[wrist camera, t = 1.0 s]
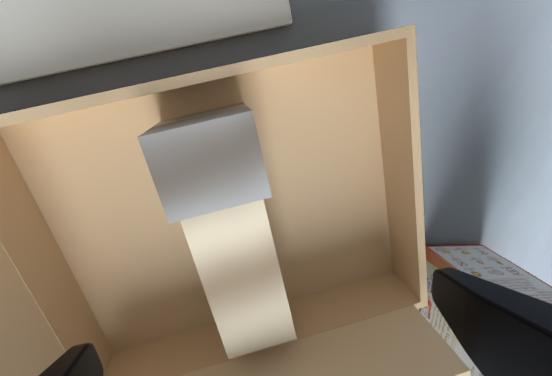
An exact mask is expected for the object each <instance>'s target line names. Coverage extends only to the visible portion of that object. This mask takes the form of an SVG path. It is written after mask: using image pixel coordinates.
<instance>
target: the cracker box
mask: <svg viewBox="0 0 552 376" xmlns="http://www.w3.org/2000/svg"><path fill="white" fill-rule="evenodd" d="M425 249H426V271H427V293H428V306H426V307H423V308H419V309H418V310H419V311H420V313H421V314H422V315H423V316H424V317H425V318H426V320H427V321H428V322H429V323H430V324H431V325H432V326H433V328H434V329H435V330H436V331H437V332H438V333H439V334H440V336H441V337H442V338H443V339H444V340H445V341H446V343H447V344H448V345H449V346H450V347H451V348H452V349H453V351H454V352H455V353H456V354H457V355H458V356H459V358H460V359H461V360H462V361H463V362H464V363H465V364H466V366H467V367H468V368H469V369H470V370H471V376H483V375H482V373H481V372H480V371H479V370H478V368H477V367H476V366H475V364H474V363H473V362H472V360H471V359H470V358H469V356H468V355H467V353H466V352H465V350H464V349H463V347H462V346H461V344H460V343H459V341H458V340H457V338H456V336H455V335H454V333H453V332H452V330H451V329H450V327H449V325H448V324H447V322H446V321H445V319H444V317H443V316H442V314H441V313H440V311H439V309H438V308H437V306H436V305H435V303H434V301H433V298H432V280H433V272H434V270H436V269H440V268H444V267H451V268H454V269H457V270H460V271H462V272H465V273H468V274H471V275H474V276H476V277H479V278H482V279H485V280H487V281H490V282H493V283H496V284H498V285H501V286H504V287H507V288H509V289H512V290H515V291H518V292H520V293H523V294H526V295H529V296H531V297H534V298H537V299H540V300H543V301H545V302H548V303H551V304H552V286H550V285H548V284H547V283H545V282H543V281H542V280H540V279H538V278H537V277H535V276H534V275H532V274H530V273H529V272H527V271H525V270H524V269H522V268H521V267H519V266H517V265H515V264H514V263H512V262H511V261H509V260H507V259H505V258H504V257H502V256H500V255H498V254H497V253H495V252H493V251H492V250H490V249H488V248H487V247H485V246H484V245H445V246H425Z"/></svg>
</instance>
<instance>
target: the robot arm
mask: <svg viewBox="0 0 552 376" xmlns="http://www.w3.org/2000/svg"><path fill="white" fill-rule="evenodd" d="M432 298H433V301H434V303H435V305H436V306H437V308H438V309H439V311H440V313H441V314H442V316H443V317H444V319H445V321H446V322H447V324H448V325H449V327H450V329H451V330H452V332H453V333H454V335H455V336H456V338H457V340H458V341H459V343H460V344H461V346H462V347H463V349H464V350H465V352H466V353H467V355H468V356H469V358H470V359H471V360H472V362H473V363H474V364H475V366H476V367H477V368H478V370H479V371H480V372H481V373H482V375H483V376H552V304H551V303H548V302H545V301H543V300H540V299H537V298H534V297H531V296H529V295H526V294H523V293H520V292H518V291H515V290H512V289H509V288H507V287H504V286H501V285H498V284H496V283H493V282H490V281H487V280H485V279H482V278H479V277H476V276H474V275H471V274H468V273H465V272H462V271H460V270H457V269H454V268H451V267H444V268H440V269H436V270H434V272H433V280H432ZM103 375H104V369H103V365H102V363H101V360H100V358H99V356H98V353H97V351H96V349H95V346H94V345H93V344H92V343H89V342H88V343H83V344H78V345H74V346H72V347H71V348H69V349H68V350H67V351H66V352H65V353H64V354H63V355H61V356H60V357H59V358H58V359H57V360H56V361H55V362H53V363H52V364H51V365H50V366H49V367H48V368H47V369H45V370H44V371H43V372H42V373H41V374H40V375H39V376H103Z"/></svg>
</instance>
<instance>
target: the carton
mask: <svg viewBox="0 0 552 376" xmlns="http://www.w3.org/2000/svg"><path fill="white" fill-rule="evenodd" d="M243 102H244V103H245V104H246V105H247V106H248V107H249V108H250V109H251V110H252V111H253V115H254V120H255V124H256V128H257V133H258V137H259V142H260V146H261V150H262V155H263V159H264V163H265V168H266V172H267V177H268V181H269V185H270V190H271V194H272V197H271V198H267V199H263V200H264V204H265V208H266V212H267V216H268V220H269V225H270V229H271V233H272V237H273V241H274V245H275V250H276V254H277V258H278V262H279V266H280V270H281V275H282V279H283V283H284V287H285V291H286V295H287V300H288V304H289V308H290V312H291V316H292V320H293V325H294V329H295V333H296V337H297V339H295V340H291V341H288V342H285V343H281V344H278V345H275V346H272V347H268V348H265V349H262V350H258V351H255V352H252V353H248V354H245V355H242V356H238V357H235V358H232V359H228V356H227V354H226V351H225V348H224V345H223V342H222V339H221V336H220V334H219V331H218V328H217V325H216V322H215V319H214V317H213V314H212V311H211V308H210V305H209V302H208V299H207V297H206V294H205V291H204V288H203V285H202V282H201V280H200V277H199V274H198V271H197V268H196V265H195V262H194V260H193V257H192V254H191V251H190V248H189V245H188V243H187V240H186V237H185V234H184V231H183V228H182V225H181V223H180V221H178V222H174V223H170V224H169V223H168V220H167V217H166V214H165V212H164V209H163V206H162V204H161V201H160V198H159V195H158V193H157V190H156V187H155V184H154V182H153V179H152V176H151V174H150V171H149V168H148V165H147V163H146V160H145V157H144V154H143V152H142V149H141V146H140V144H139V141H138V138H137V137H138V136H140V135H141V134H143V133H144V132H146V131H147V130H149V129H150V128H152V127H153V126H154V125H156V124H157V123H159V122H160V121H164V120H169V119H173V118H177V117H182V116H186V115H190V114H195V113H199V112H204V111H208V110H212V109H217V108H221V107H225V106H230V105H234V104H238V103H243ZM426 306H428V293H427V271H426V249H425V227H424V204H423V182H422V160H421V138H420V116H419V93H418V71H417V49H416V27H415V24H413V25H408V26H404V27H399V28H395V29H390V30H385V31H381V32H376V33H372V34H367V35H362V36H358V37H353V38H349V39H344V40H339V41H335V42H330V43H326V44H321V45H316V46H312V47H307V48H303V49H298V50H293V51H289V52H284V53H280V54H275V55H270V56H266V57H261V58H257V59H252V60H247V61H243V62H238V63H234V64H229V65H224V66H220V67H215V68H211V69H206V70H201V71H197V72H192V73H188V74H183V75H178V76H174V77H169V78H165V79H160V80H155V81H151V82H146V83H142V84H137V85H132V86H128V87H123V88H119V89H114V90H109V91H105V92H100V93H96V94H91V95H86V96H82V97H77V98H73V99H68V100H63V101H59V102H54V103H50V104H45V105H40V106H36V107H31V108H27V109H22V110H17V111H13V112H8V113H4V114H0V376H39V375H40V374H41V373H42V372H43V371H44V370H45V369H47V368H48V367H49V366H50V365H51V364H52V363H53V362H55V361H56V360H57V359H58V358H59V357H60V356H61V355H63V354H64V353H65V352H66V351H67V350H68V349H69V348H71V347H72V346H74V345H78V344H83V343H88V342H89V343H92V344H93V345H94V346H95V349H96V351H97V353H98V356H99V358H100V360H101V363H102V365H103V369H104V375H103V376H471V370H470V369H469V368H468V367H467V366H466V364H465V363H464V362H463V361H462V360H461V359H460V358H459V356H458V355H457V354H456V353H455V352H454V351H453V349H452V348H451V347H450V346H449V345H448V344H447V343H446V341H445V340H444V339H443V338H442V337H441V336H440V334H439V333H438V332H437V331H436V330H435V329H434V328H433V326H432V325H431V324H430V323H429V322H428V321H427V320H426V318H425V317H424V316H423V315H422V314H421V313H420V311H419V310H418V309H419V308H423V307H426Z"/></svg>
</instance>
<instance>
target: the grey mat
mask: <svg viewBox="0 0 552 376" xmlns="http://www.w3.org/2000/svg"><path fill="white" fill-rule="evenodd" d="M292 23H293V22H292V16H291V10H290V4H289V0H0V86H1V85H5V84H10V83H15V82H20V81H24V80H29V79H34V78H39V77H43V76H48V75H53V74H58V73H63V72H67V71H72V70H77V69H82V68H86V67H91V66H96V65H101V64H105V63H110V62H115V61H120V60H125V59H129V58H134V57H139V56H144V55H148V54H153V53H158V52H163V51H167V50H172V49H177V48H182V47H187V46H191V45H196V44H201V43H206V42H210V41H215V40H220V39H225V38H229V37H234V36H239V35H244V34H248V33H253V32H258V31H263V30H268V29H272V28H277V27H282V26H287V25H291V24H292Z"/></svg>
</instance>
